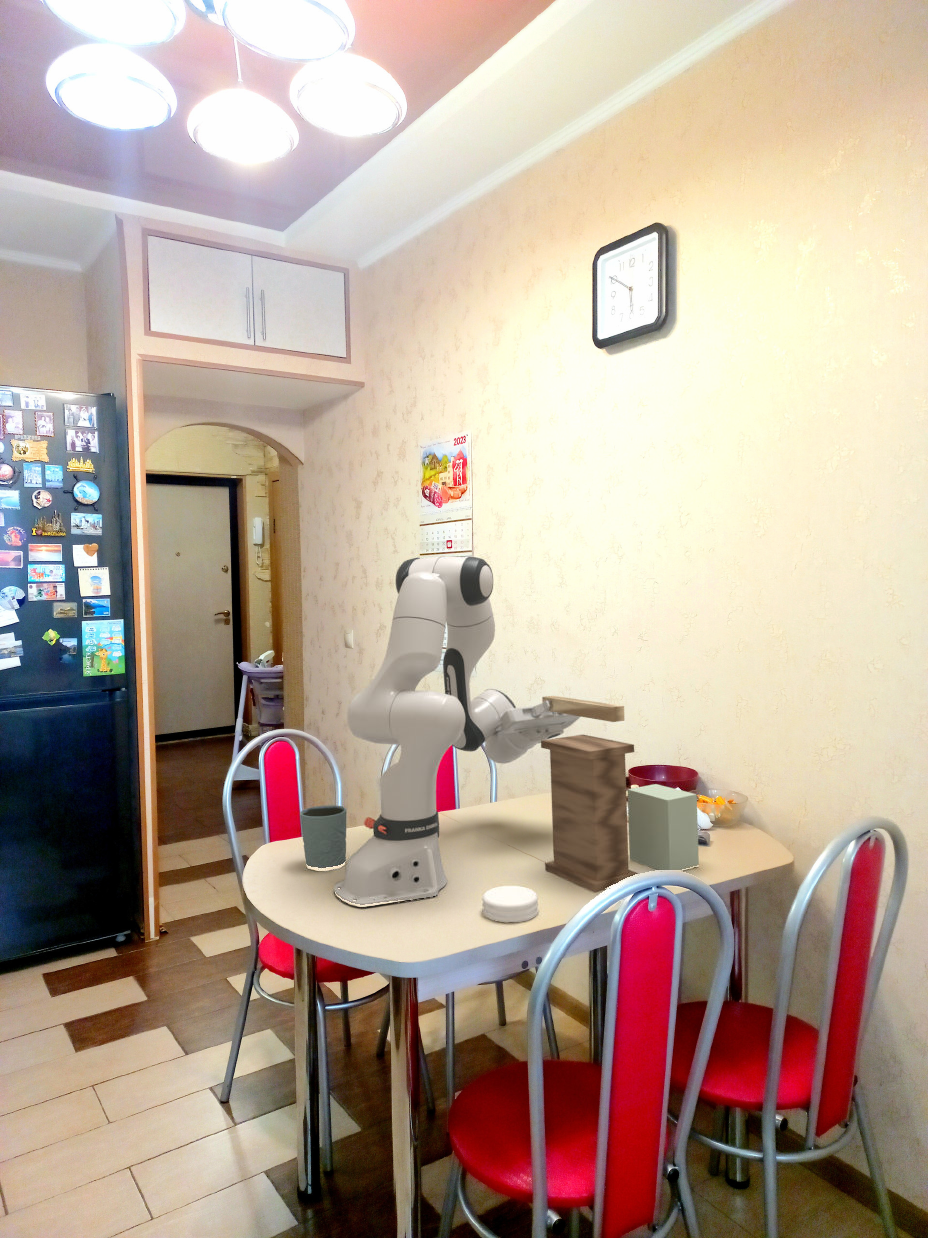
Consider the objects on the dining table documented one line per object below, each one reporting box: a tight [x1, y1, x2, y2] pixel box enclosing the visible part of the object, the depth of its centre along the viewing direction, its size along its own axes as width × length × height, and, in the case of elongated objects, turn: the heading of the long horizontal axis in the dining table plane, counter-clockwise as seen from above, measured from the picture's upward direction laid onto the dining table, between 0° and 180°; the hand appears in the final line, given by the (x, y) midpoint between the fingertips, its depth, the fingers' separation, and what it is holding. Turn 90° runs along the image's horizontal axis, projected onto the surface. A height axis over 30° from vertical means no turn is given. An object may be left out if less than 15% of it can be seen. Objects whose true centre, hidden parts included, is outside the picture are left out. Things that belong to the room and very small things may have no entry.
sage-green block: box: [627, 783, 700, 872], centre depth 173 cm, size 8×12×15 cm, turn 30°
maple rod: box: [541, 695, 625, 723], centre depth 177 cm, size 3×24×3 cm, turn 31°
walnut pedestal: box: [540, 734, 639, 893], centre depth 167 cm, size 11×16×27 cm
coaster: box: [481, 885, 539, 924], centre depth 149 cm, size 10×10×4 cm
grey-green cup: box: [299, 804, 347, 868], centre depth 180 cm, size 10×10×12 cm
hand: (557, 702), depth 184 cm, fingers closed on maple rod, 3 cm apart
